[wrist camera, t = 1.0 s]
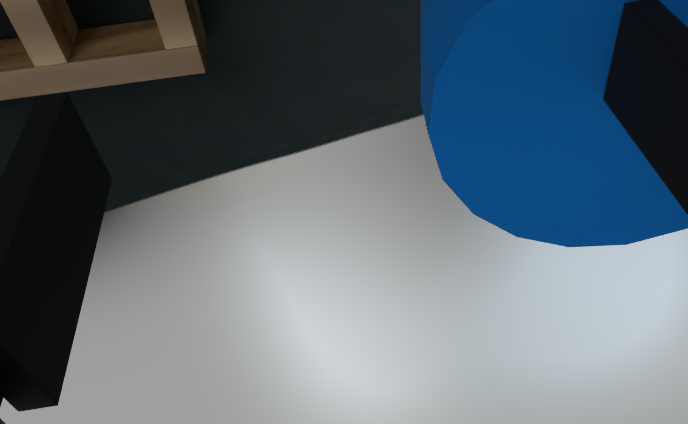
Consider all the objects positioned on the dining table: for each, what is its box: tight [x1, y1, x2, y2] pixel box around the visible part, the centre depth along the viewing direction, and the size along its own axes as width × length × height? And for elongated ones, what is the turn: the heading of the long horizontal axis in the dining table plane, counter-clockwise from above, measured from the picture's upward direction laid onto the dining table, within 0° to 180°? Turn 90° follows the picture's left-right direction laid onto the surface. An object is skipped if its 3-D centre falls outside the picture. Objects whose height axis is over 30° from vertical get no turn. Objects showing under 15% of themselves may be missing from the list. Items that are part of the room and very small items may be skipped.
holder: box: [0, 0, 208, 101], centre depth 36 cm, size 10×18×4 cm, turn 95°
